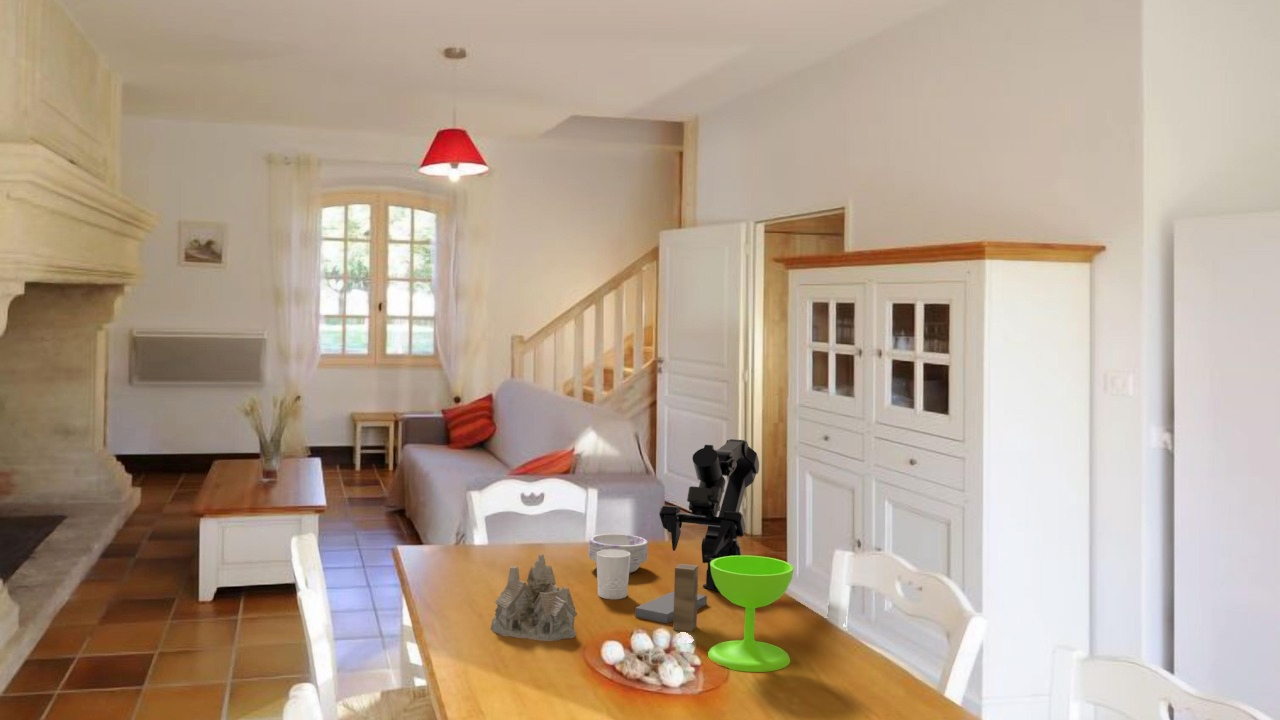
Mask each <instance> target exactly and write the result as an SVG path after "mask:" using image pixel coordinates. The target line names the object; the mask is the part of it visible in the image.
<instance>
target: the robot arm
mask: <svg viewBox="0 0 1280 720" xmlns="http://www.w3.org/2000/svg"><path fill="white" fill-rule="evenodd" d="M691 459H692V463H693V466H694V471H695V474H696V478H697V480H698V481H699V484H698V486H689V488H688V494H687V499H686V502H688V503H689V505H688V510H689V511H691V512H690V513H687V512H681V509H680V506H676V505H675V506H674V505H666V504H665V505H662V507H660V511H659V518H660V522H661V525H662V528H664V529H665V530H666V531H667V532H669V533H670V535H671V536H670V537H671V548H672V551H673V552H674V551H676V549H677V547H678V544H679V540H680V536H681V533H682V532H681V531H682V530H681V529H682V525H683V523H687V524H693V525H694V524H695V525H699V526H706V527H707V531H706V533H705V536H704V537H703V538H702V540H701V541H702V542H701V560H702V562H701V563H702V564H707V569H706V575H705V576H706V577H705V579H706V581H705V584H702V588H706V589H708V590H711V591H714V592H717V593H720V591H719V590H718V589H717V587H716V586H715V583H714V581H713V578H712V575H711V567H710V562H711V561H712V560H714V559H716V558H720V557H726V556H741V555H742V550H741V547H740V543H739V541H738V537H740V538H742V537H743V536H744V535H745V530H746V524H745V519H744V518H745V517H744V514H742V512H740V510H741V506H742V502H743V498H744V494H745V490H746V489H747V487H749V486H750V485H752V484H754V481H755V479H756V475H757V474H759V470H760V461H759V457H758V452H756V451H755V450H753V449H752V448H751V446H749V444H748V441H746V440H744V439H727V440H726V442H725V443H724V444H723V445H722V446H721V447H720V448H718V449H715V448H714V445H713V444H704V447H703V448H700V449H698V450H696V451H695V452H694V454H692V458H691ZM725 477H726V478H725ZM726 479H727V485H726ZM725 486H726V488H725ZM723 493H724V495H723ZM722 497H723V498H722ZM721 502H722V503H721Z"/></svg>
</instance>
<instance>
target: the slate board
mask: <svg viewBox="0 0 1280 720" xmlns="http://www.w3.org/2000/svg"><path fill="white" fill-rule="evenodd" d="M707 599H708V596H707V595H706V594H699V593H698V594H697V610H698V609H700V608H703V607H705V606H706V605H707V603H708V602H707V601H708V600H707ZM634 611H635V612H634V616H635V618H640V619H645V620H649V621H654V622H658V623H664V624H669V623H671V622H673V618H674V590H673V591H671V592H669V593H665V594H663V595H662V596H659V597H657V598H654V599H652V600H650V601H648V602H646V603H642V604H641V605H639V606H636V607H635V610H634Z"/></svg>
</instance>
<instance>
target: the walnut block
mask: <svg viewBox="0 0 1280 720" xmlns="http://www.w3.org/2000/svg"><path fill="white" fill-rule="evenodd" d="M698 588H699V565H698V564H697V565H696V564H686V563H679V564H677V566H675V568H674V588H673V589H674V590H673V591H674V618H673V621H672V625H673V626H672V630H674V631H684V632H689V633H692V632H693V631H694V630H695V629H696V627H697V626H698V625H697V622H698V621H697V619H698V609H697V594H699V593H698V591H699V589H698Z"/></svg>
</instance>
